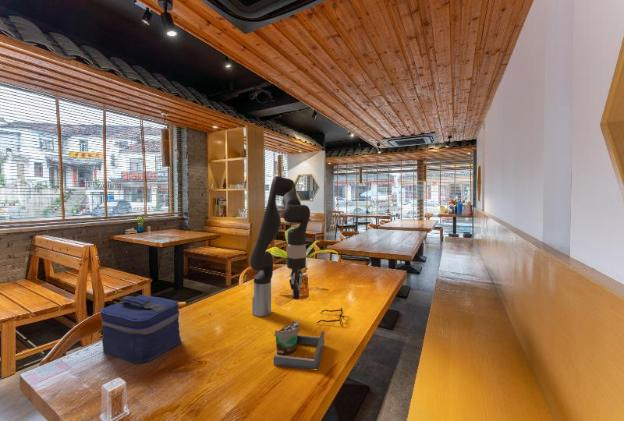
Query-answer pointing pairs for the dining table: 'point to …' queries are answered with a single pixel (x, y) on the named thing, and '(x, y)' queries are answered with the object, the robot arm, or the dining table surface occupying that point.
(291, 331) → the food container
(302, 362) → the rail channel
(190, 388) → the dining table surface
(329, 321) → the glasses
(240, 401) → the dining table surface
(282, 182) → the robot arm
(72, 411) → the dining table surface
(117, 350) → the lunch bag
